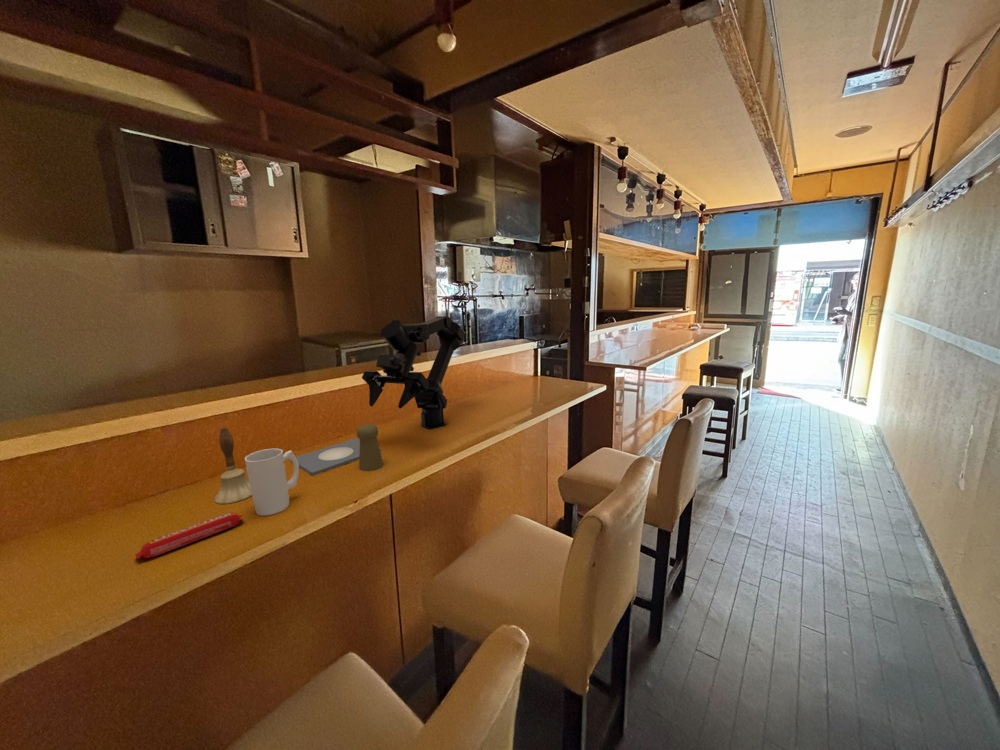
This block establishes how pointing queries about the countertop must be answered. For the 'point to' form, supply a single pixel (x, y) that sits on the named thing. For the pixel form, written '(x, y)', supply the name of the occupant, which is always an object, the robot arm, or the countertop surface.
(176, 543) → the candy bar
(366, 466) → the olive rounded peg
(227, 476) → the hand bell
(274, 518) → the countertop surface
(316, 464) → the board
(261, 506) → the mug
